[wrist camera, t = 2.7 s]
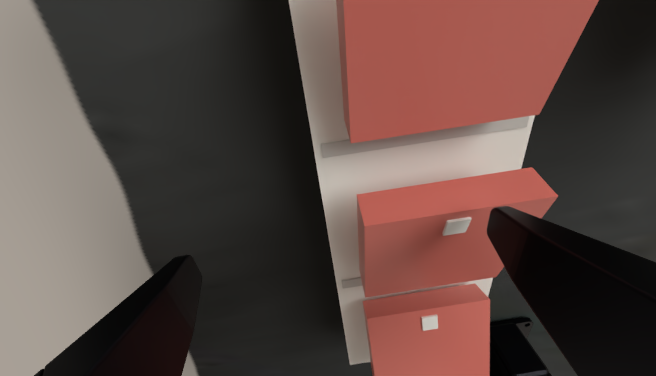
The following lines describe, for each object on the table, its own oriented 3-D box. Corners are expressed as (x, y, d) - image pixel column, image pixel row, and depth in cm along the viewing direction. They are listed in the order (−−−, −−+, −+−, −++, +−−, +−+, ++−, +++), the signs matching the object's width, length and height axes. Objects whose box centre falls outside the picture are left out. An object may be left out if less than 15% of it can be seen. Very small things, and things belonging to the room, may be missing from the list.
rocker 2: (481, 251, 14) (497, 278, 13) (359, 270, 14) (365, 299, 13) (531, 167, 10) (560, 198, 9) (356, 194, 10) (365, 228, 9)
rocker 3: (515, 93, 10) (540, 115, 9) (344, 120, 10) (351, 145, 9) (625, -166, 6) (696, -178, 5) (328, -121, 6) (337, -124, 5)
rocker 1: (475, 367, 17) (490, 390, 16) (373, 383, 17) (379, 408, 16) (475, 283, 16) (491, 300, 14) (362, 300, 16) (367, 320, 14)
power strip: (446, 317, 25) (470, 366, 21) (345, 333, 25) (353, 385, 21) (515, -139, 10) (624, -221, 7) (274, -103, 10) (260, -167, 7)
